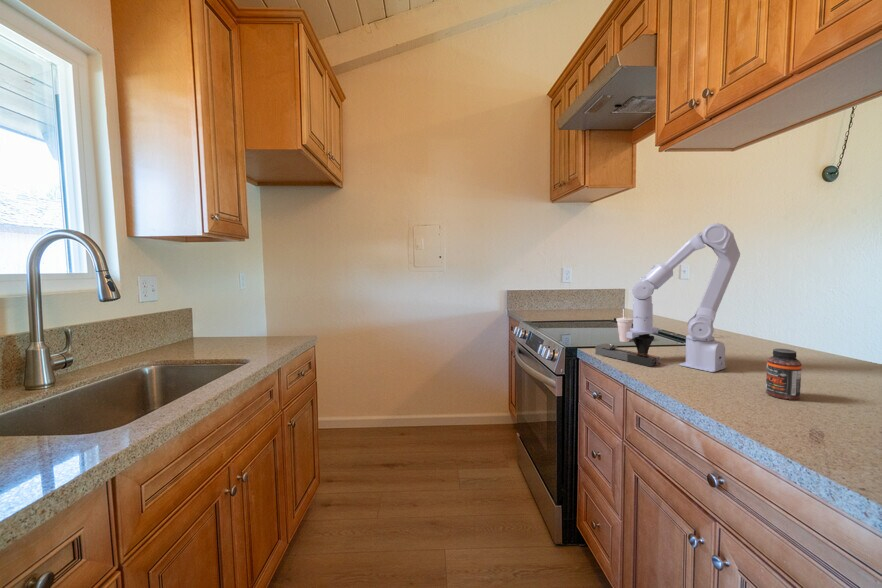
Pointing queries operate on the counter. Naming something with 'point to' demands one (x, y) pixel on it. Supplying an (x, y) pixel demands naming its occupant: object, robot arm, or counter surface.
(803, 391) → the counter surface
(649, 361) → the frame
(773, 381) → the supplement bottle
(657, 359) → the tong arm
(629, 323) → the smoothie
